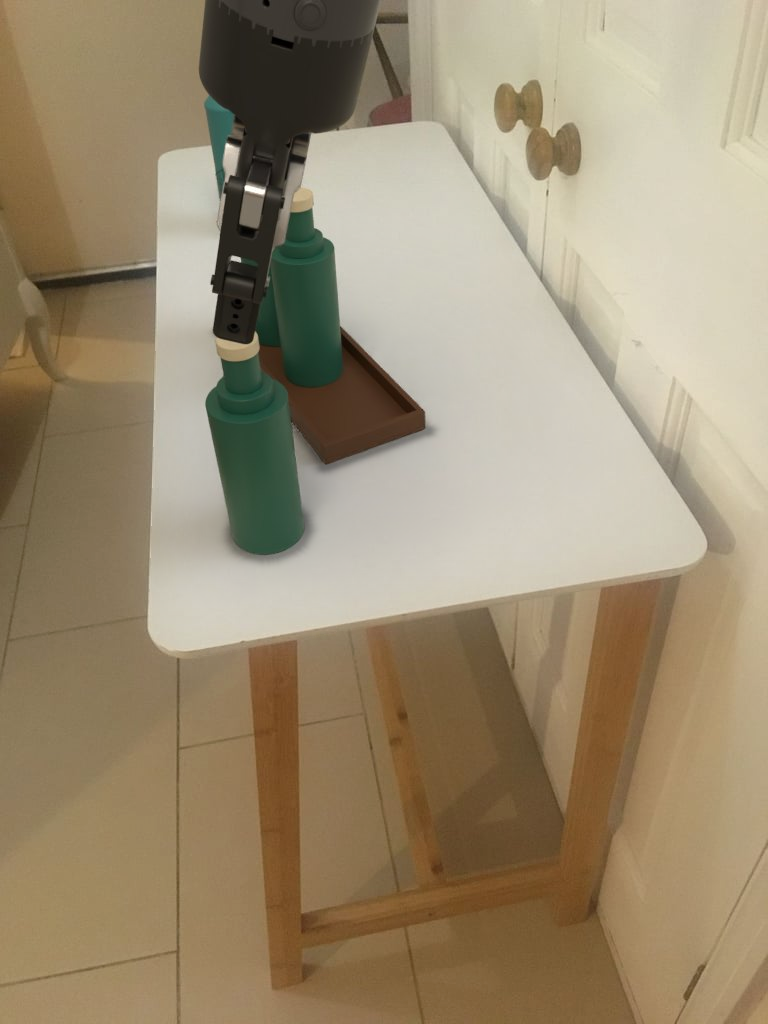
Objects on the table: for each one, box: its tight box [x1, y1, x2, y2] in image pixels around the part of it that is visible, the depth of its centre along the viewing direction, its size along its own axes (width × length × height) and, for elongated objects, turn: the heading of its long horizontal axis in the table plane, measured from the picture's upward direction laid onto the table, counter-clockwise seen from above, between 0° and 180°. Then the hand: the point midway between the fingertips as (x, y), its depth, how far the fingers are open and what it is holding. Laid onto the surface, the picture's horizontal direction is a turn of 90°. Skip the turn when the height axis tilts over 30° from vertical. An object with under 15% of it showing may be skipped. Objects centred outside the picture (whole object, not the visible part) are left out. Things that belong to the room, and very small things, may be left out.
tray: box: [258, 325, 426, 465], centre depth 87 cm, size 27×10×2 cm, turn 28°
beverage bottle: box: [203, 94, 234, 203], centre depth 106 cm, size 6×7×20 cm
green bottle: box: [204, 332, 305, 555], centre depth 65 cm, size 6×6×18 cm
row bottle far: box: [240, 258, 281, 347], centre depth 87 cm, size 6×6×18 cm
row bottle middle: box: [270, 187, 343, 387], centre depth 81 cm, size 6×6×18 cm
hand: (243, 291), depth 50 cm, fingers open, 8 cm apart
